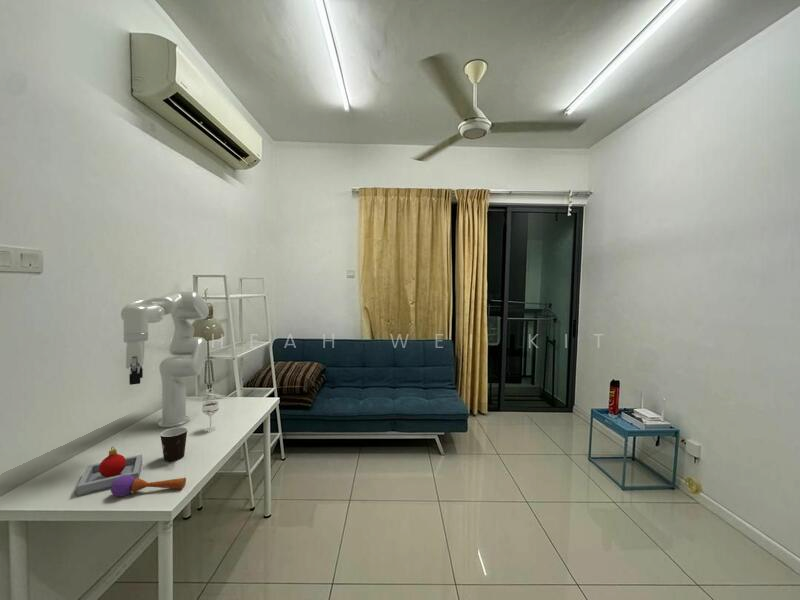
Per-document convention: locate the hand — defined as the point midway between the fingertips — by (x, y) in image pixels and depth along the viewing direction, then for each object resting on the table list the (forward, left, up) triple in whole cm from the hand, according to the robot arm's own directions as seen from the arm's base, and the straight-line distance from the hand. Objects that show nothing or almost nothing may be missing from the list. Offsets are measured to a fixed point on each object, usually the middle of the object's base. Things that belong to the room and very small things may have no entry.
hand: (136, 381), depth 131 cm
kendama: (+34, +6, -29) cm, 45 cm away
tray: (+18, -5, -28) cm, 34 cm away
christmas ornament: (+18, -5, -28) cm, 34 cm away
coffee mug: (+14, +12, -28) cm, 34 cm away
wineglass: (-10, +26, -28) cm, 40 cm away
